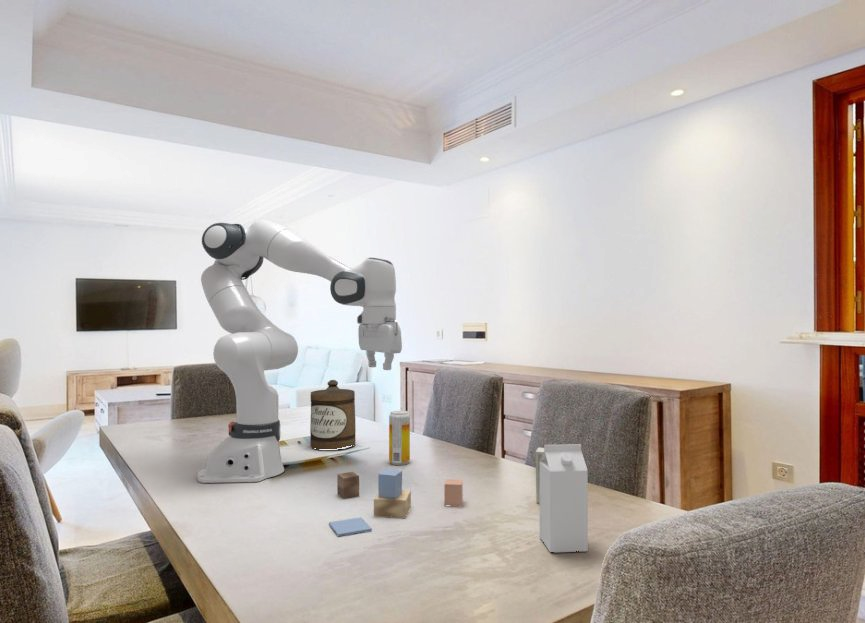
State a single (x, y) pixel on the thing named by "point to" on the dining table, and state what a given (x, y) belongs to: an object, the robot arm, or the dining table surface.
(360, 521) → the tile
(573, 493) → the milk carton
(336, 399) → the wooden container
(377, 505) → the oak base
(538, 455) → the skincare box
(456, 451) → the dining table surface
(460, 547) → the dining table surface
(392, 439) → the beer can
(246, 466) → the robot arm
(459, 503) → the terracotta cube
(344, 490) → the walnut cube
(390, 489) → the blue cube
